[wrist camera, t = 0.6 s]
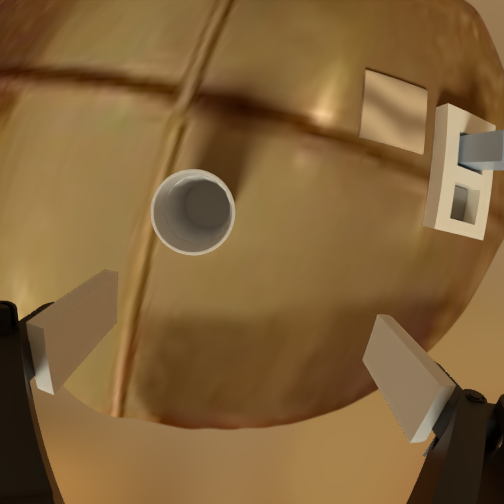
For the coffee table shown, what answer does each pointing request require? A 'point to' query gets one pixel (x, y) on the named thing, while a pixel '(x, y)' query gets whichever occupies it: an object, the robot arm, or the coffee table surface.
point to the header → (457, 177)
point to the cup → (193, 211)
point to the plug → (482, 151)
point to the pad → (393, 112)
